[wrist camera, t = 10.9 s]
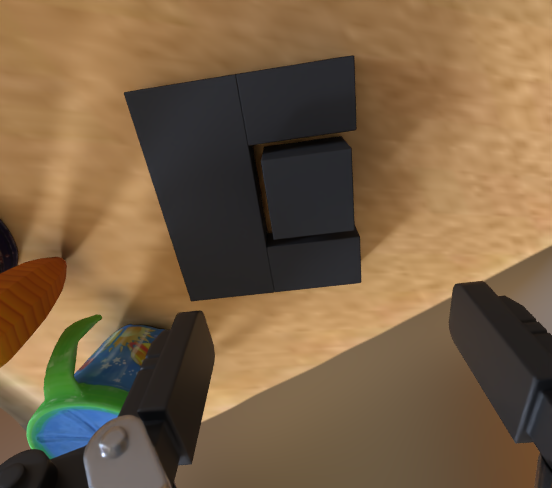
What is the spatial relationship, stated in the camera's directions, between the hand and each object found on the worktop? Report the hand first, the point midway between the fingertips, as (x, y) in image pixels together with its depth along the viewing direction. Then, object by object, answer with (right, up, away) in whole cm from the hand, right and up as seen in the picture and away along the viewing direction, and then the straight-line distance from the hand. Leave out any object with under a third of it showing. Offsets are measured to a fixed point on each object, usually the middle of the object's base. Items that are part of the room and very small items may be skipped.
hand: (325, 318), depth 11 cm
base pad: (-3, +7, +15) cm, 17 cm away
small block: (+1, +7, +15) cm, 16 cm away
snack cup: (-15, -8, +23) cm, 29 cm away
